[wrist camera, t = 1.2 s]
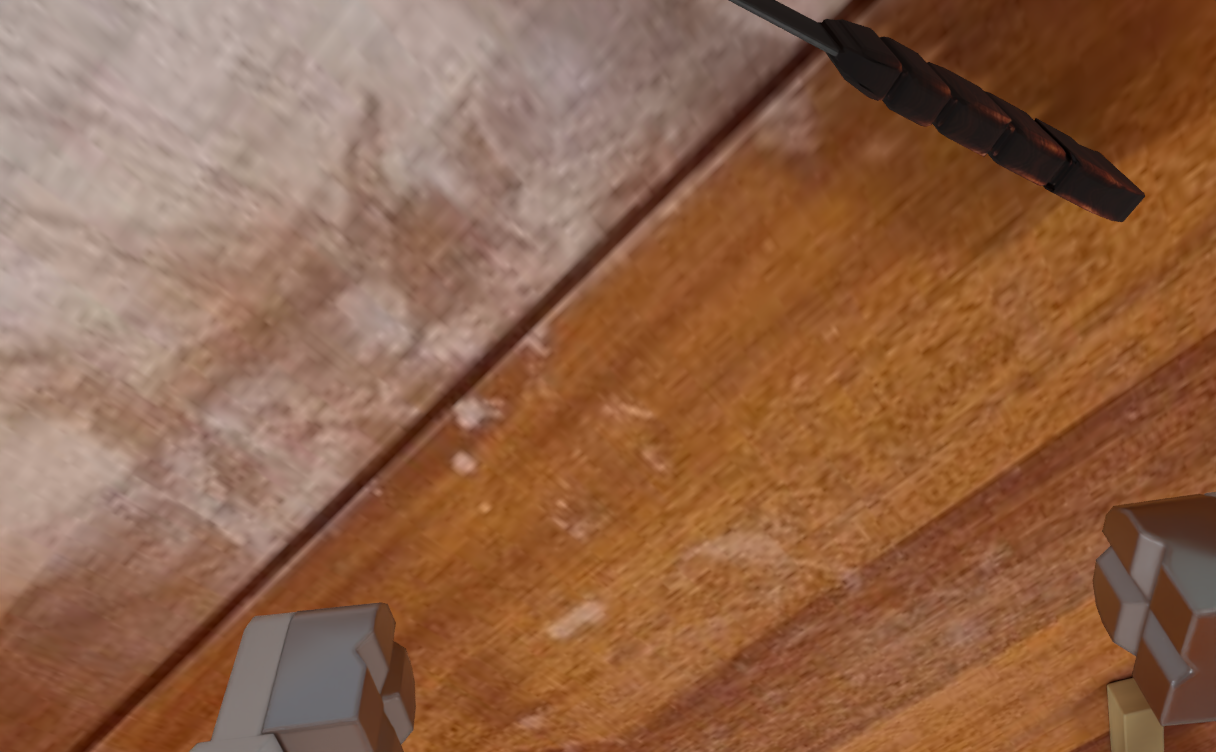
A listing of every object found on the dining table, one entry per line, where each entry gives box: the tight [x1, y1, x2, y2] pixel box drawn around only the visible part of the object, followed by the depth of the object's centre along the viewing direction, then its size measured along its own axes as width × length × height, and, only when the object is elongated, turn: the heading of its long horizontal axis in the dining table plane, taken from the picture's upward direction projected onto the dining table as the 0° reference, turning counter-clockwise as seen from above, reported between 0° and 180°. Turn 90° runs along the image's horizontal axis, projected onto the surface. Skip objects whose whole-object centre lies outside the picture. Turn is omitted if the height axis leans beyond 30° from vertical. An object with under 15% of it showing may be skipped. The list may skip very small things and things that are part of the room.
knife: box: [729, 0, 1145, 222], centre depth 21 cm, size 17×1×3 cm, turn 63°
